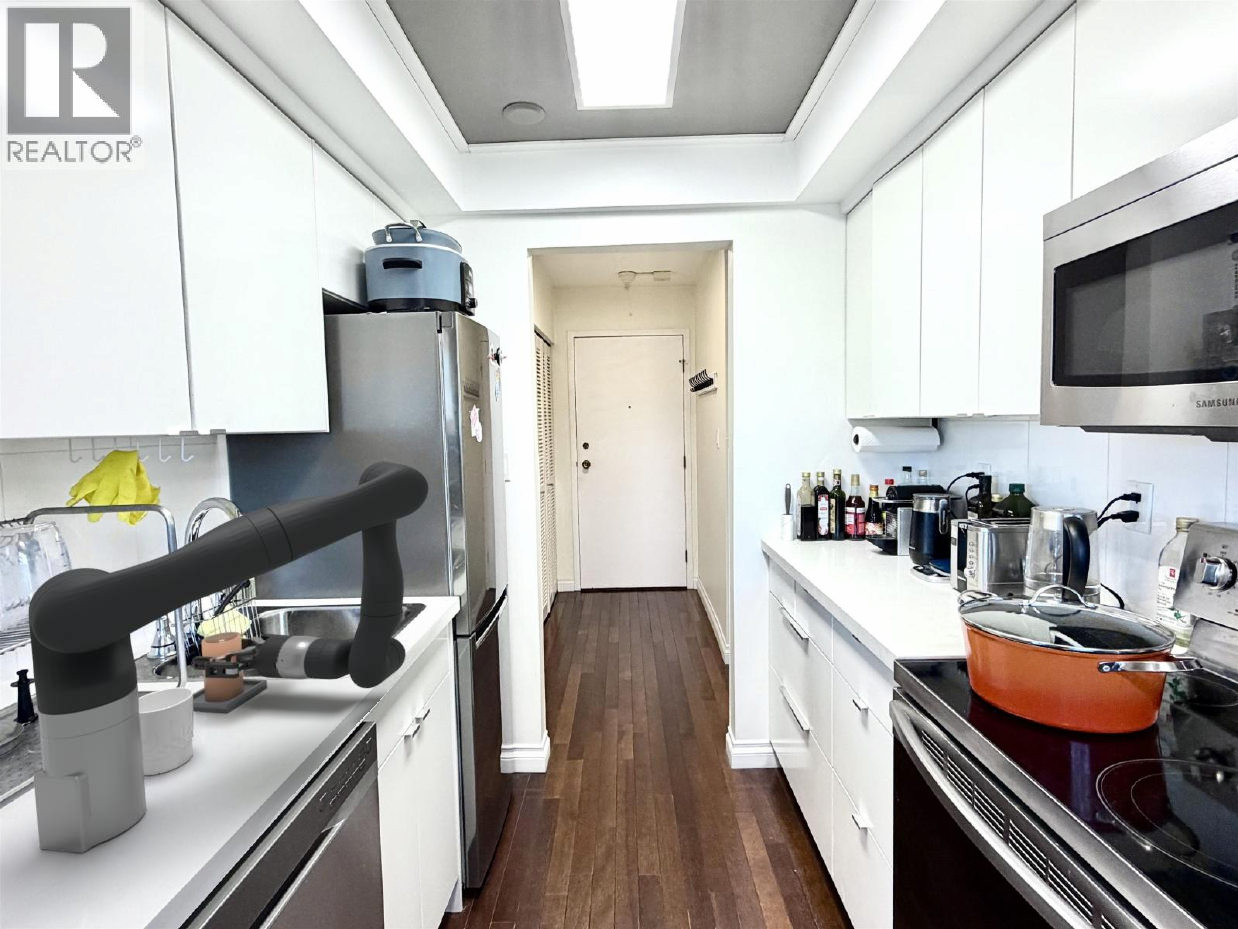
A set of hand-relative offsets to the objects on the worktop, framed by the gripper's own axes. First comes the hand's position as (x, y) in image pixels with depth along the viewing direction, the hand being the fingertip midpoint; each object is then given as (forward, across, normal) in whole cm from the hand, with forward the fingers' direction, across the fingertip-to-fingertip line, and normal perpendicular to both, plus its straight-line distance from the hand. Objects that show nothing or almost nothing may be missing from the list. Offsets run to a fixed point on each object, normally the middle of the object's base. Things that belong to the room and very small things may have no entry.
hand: (213, 653), depth 105 cm
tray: (-2, 0, +9) cm, 9 cm away
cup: (-2, 0, +8) cm, 8 cm away
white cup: (-9, +19, +9) cm, 23 cm away
